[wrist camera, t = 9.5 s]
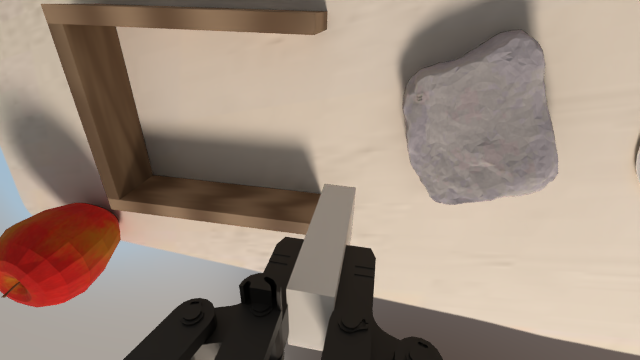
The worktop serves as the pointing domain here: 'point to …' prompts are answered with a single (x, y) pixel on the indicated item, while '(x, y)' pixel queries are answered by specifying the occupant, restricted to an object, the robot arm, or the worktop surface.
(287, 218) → the cubby
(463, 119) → the stone block
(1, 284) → the apple
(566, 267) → the worktop surface
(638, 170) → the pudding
